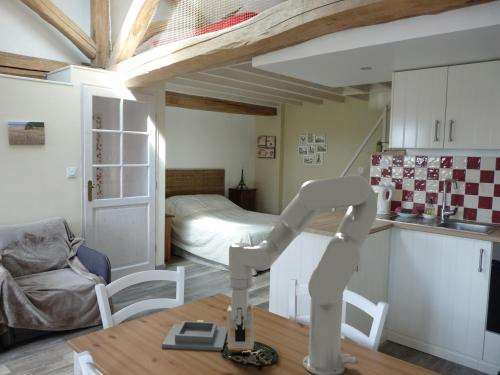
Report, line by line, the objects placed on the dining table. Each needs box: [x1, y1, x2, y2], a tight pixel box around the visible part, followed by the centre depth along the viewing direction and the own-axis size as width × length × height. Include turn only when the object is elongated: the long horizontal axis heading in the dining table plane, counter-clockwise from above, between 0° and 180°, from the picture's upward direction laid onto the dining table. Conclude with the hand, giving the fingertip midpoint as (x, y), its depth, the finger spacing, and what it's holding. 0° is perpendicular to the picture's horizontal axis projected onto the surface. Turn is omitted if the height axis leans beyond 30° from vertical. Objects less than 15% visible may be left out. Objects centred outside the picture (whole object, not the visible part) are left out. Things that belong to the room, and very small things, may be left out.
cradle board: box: [161, 319, 228, 352], centre depth 140 cm, size 20×17×4 cm
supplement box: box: [226, 305, 255, 352], centre depth 130 cm, size 8×5×13 cm, turn 84°
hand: (240, 336), depth 130 cm, fingers closed on supplement box, 5 cm apart
